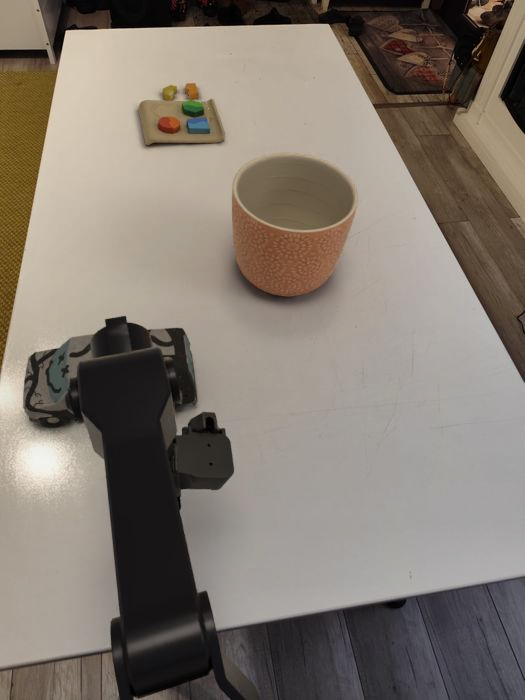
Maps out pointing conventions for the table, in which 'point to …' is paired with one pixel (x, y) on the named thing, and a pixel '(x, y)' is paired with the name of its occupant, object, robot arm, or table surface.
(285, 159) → the planter
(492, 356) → the table surface
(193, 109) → the shape puzzle
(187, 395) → the toy car
